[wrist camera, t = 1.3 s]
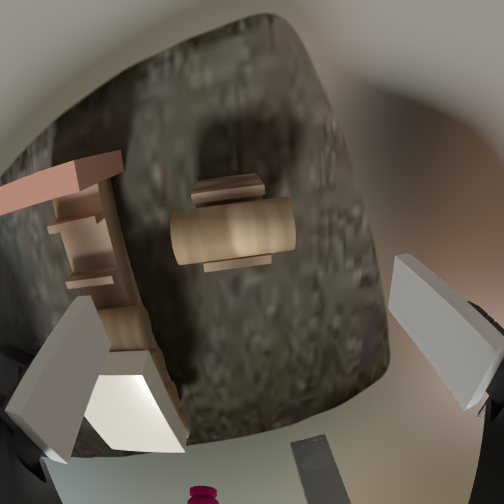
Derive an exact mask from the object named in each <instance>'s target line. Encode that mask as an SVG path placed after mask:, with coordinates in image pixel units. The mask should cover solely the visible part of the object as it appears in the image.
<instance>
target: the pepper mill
mask: <svg viewBox="0 0 504 504" xmlns="http://www.w3.org/2000/svg"><path fill="white" fill-rule="evenodd" d="M190 496H192V497H191V498H190V499H189V500H188V503H187V504H219V503H218V501H217V500H216V499H215V497H216V496H217V490H216V489H214V488H212V487H208V486H194V487H191V488H190Z"/></svg>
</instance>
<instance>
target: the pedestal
mask: <svg viewBox="0 0 504 504" xmlns="http://www.w3.org/2000/svg"><path fill="white" fill-rule="evenodd" d="M263 195H265V185H264V183H263V182H262V181H261V179H260V178H259V177H258V176H257V174H256V173H251V174H242V175H234V176H226V177H219V178H212V179H205V180H198V181H197V183H196V185H195V187H194V190H193V191H192V193H191V197H192V204H196V208H201V207H208V206H215V205H223V204H230V203H238V202H246V201H254V200H262V199H263ZM270 263H271V254H270V253H268V254H260V255H253V256H245V257H238V258H230V259H223V260H215V261H208V262H203V266H204V271H205V272H210V271H218V270H226V269H233V268H241V267H248V266H255V265H263V264H270Z"/></svg>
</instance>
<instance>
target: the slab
mask: <svg viewBox="0 0 504 504" xmlns="http://www.w3.org/2000/svg"><path fill="white" fill-rule="evenodd" d="M84 416H85V417H86V419H87V420H88V421H89V422H90V424H91V425H92V426H93V427H94V429H95V430H96V431H97V432H98V433H99V435H100V436H101V437H102V438H103V439H104V440H105V442H106V443H107V444H108V445H109V446H110V447H111V448H112V449H118V450H129V451H143V452H185V451H186V432H187V431H186V429H185V427H184V425H183V423H182V422H181V420H180V418H179V416H178V414H177V412H176V410H175V408H174V406H173V404H172V402H171V399H170V397H169V395H168V393H167V391H166V389H165V387H164V385H163V382H162V380H161V378H160V376H159V373H158V371H157V369H156V367H155V364H154V362H153V359H152V357H151V355H150V352H149V350H143V351H121V352H108V355H107V357H106V359H105V362H104V364H103V367H102V369H101V372H100V374H99V377H98V379H97V382H96V384H95V387H94V389H93V392H92V395H91V397H90V400H89V403H88V405H87V408H86V411H85V414H84Z"/></svg>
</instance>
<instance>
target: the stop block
mask: <svg viewBox="0 0 504 504" xmlns="http://www.w3.org/2000/svg"><path fill="white" fill-rule="evenodd" d="M122 172H124V166H123V160H122V154H121V150H117V151H112V152H108V153H103V154H98V155H94V156H89V157H85V158H81V159H77V160H73V161H70V162H67V163H63V164H60V165H57V166H54V167H51V168H48V169H46V170H43V171H40V172H37V173H34V174H32V175H29V176H26V177H24V178H21V179H19V180H16V181H14V182H11V183H9V184H6V185H4V186H2V187H0V216H1V215H3V214H6V213H9V212H12V211H15V210H18V209H21V208H24V207H28V206H31V205H34V204H37V203H41V202H44V201H47V200H51V199H54V198H58V197H61V196H65V195H69V194H72V193H76V192H80V191H82V190H84V189H86V188H88V187H90V186H93V185H95V184H97V183H99V182H101V181H103V180H106V179H108V178H110V177H112V176H115V175H117V174H119V173H122Z"/></svg>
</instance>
